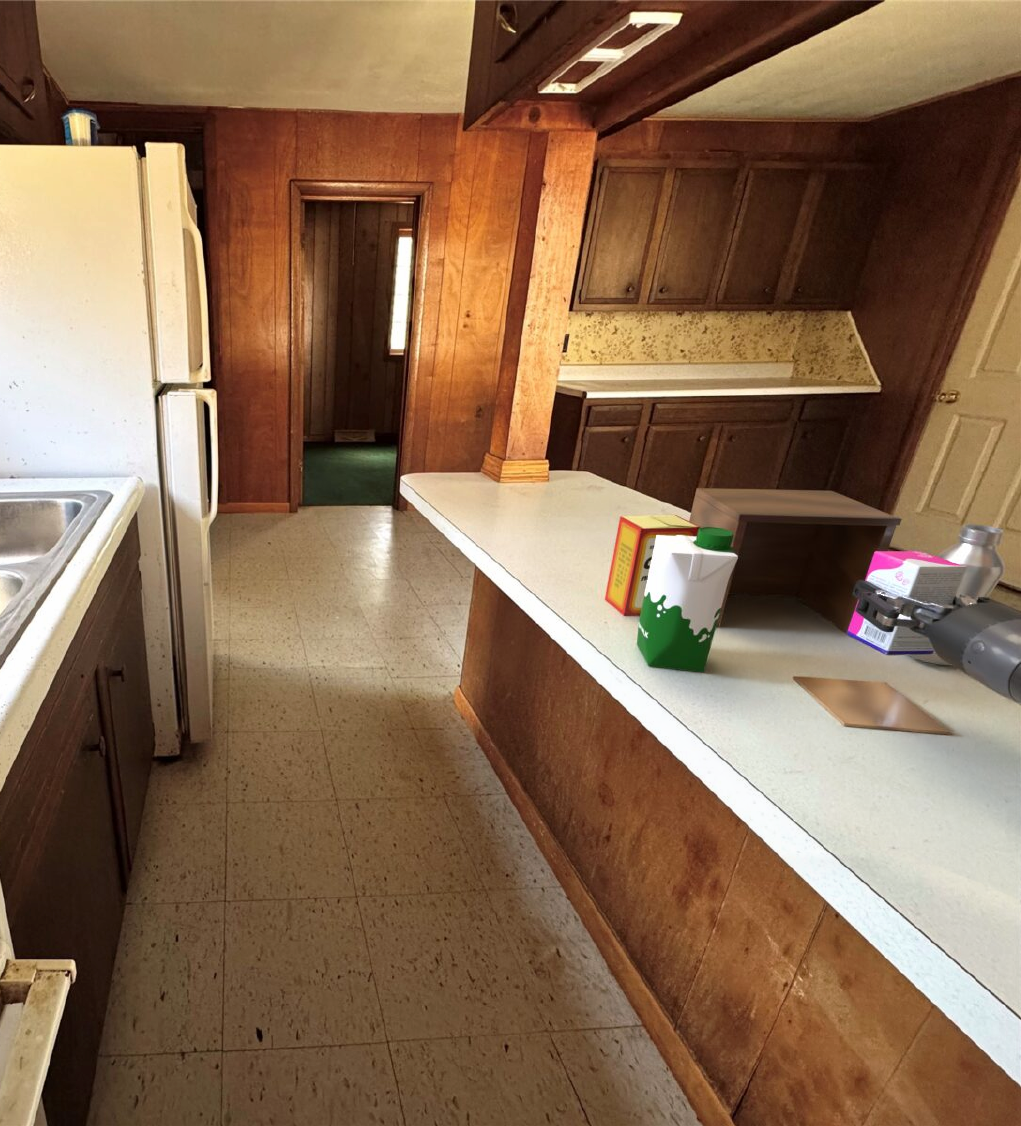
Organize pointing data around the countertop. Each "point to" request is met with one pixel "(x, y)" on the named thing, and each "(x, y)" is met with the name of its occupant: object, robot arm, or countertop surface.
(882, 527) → the cupboard
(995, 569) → the silver metal bottle
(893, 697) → the cork mat
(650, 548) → the baking soda box
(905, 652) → the supplement box
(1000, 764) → the countertop surface
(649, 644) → the milk carton
